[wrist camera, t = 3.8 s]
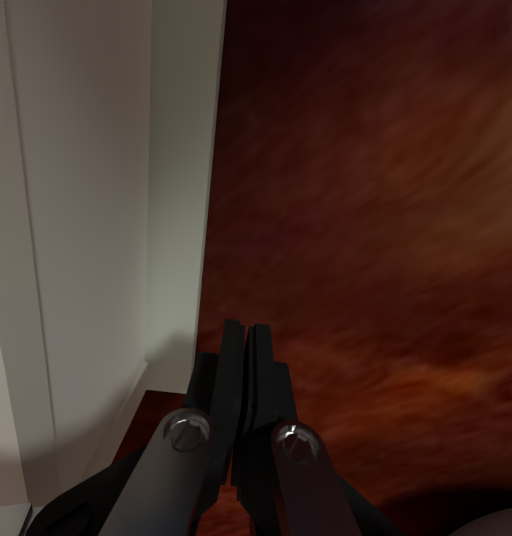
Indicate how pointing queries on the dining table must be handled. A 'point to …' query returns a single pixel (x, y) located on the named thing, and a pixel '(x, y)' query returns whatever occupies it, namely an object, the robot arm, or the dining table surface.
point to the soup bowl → (488, 525)
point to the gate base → (179, 179)
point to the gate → (71, 237)
